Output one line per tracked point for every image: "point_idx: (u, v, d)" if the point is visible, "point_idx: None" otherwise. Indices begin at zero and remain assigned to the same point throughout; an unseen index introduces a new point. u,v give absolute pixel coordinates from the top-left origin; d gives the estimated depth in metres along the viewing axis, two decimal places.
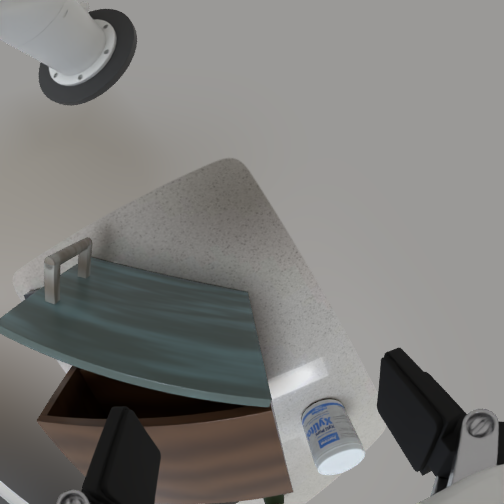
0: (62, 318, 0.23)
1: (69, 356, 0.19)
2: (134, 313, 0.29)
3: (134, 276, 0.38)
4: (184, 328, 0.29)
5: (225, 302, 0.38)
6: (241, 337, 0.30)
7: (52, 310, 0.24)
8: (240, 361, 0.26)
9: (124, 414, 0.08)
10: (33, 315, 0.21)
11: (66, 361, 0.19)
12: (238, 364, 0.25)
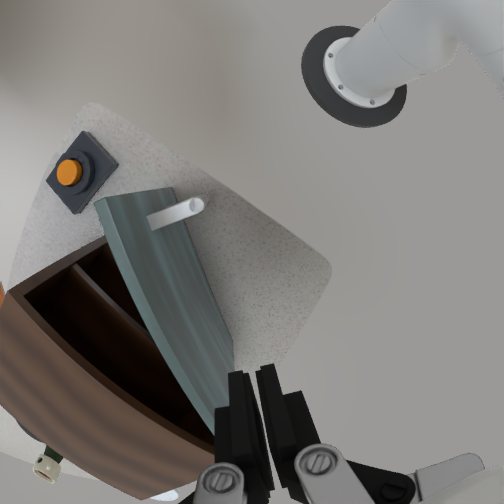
0: (155, 260, 0.22)
1: (158, 326, 0.19)
2: (191, 304, 0.29)
3: (191, 253, 0.38)
4: (211, 352, 0.30)
5: (225, 342, 0.40)
6: None
7: (149, 238, 0.23)
8: None
9: (244, 377, 0.09)
10: (136, 227, 0.20)
11: (148, 323, 0.18)
12: None
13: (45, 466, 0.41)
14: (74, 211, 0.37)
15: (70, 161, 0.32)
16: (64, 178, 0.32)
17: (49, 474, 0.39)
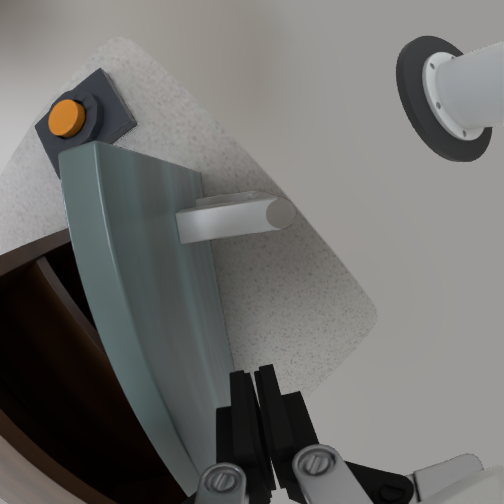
0: (184, 310, 0.11)
1: (193, 468, 0.07)
2: (216, 365, 0.17)
3: (212, 272, 0.27)
4: None
5: None
6: None
7: (177, 262, 0.11)
8: None
9: (246, 377, 0.09)
10: (160, 239, 0.09)
11: (169, 462, 0.07)
12: None
13: None
14: None
15: (71, 102, 0.20)
16: (58, 125, 0.20)
17: None
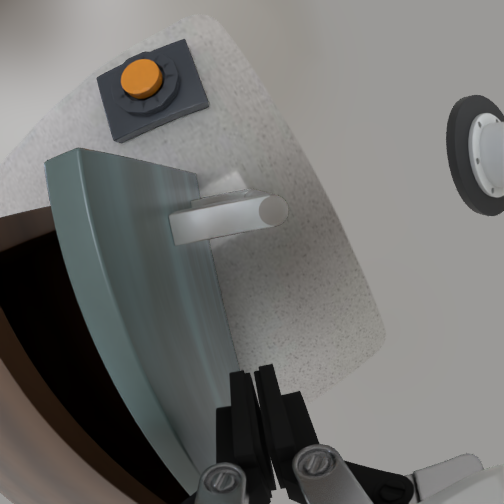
0: (180, 311, 0.11)
1: (194, 469, 0.07)
2: (218, 365, 0.17)
3: (212, 272, 0.27)
4: None
5: None
6: None
7: (172, 263, 0.11)
8: None
9: (245, 377, 0.09)
10: (152, 242, 0.09)
11: (170, 463, 0.07)
12: None
13: None
14: (116, 136, 0.24)
15: (153, 64, 0.20)
16: (132, 82, 0.20)
17: None
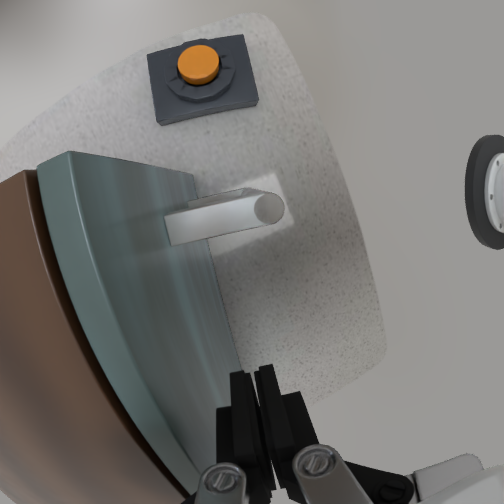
0: (178, 312, 0.11)
1: (194, 469, 0.07)
2: (219, 365, 0.17)
3: (211, 273, 0.27)
4: None
5: None
6: None
7: (168, 264, 0.11)
8: None
9: (246, 377, 0.09)
10: (146, 243, 0.09)
11: (170, 464, 0.07)
12: None
13: None
14: (160, 118, 0.24)
15: (214, 52, 0.20)
16: (190, 66, 0.20)
17: None
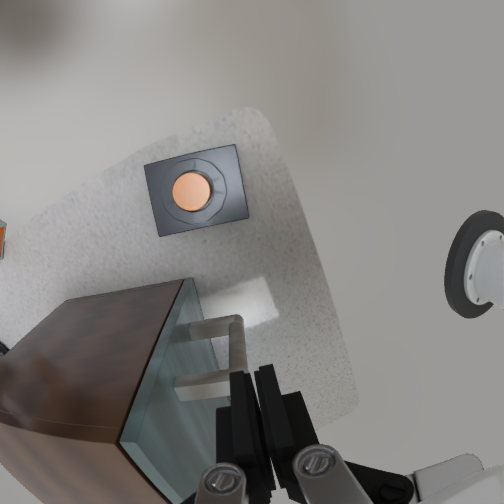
0: (186, 439, 0.17)
1: None
2: (213, 440, 0.23)
3: (209, 359, 0.32)
4: None
5: None
6: None
7: (179, 417, 0.17)
8: None
9: (245, 377, 0.09)
10: (168, 425, 0.14)
11: None
12: None
13: None
14: (162, 233, 0.30)
15: (205, 182, 0.26)
16: (183, 197, 0.26)
17: None
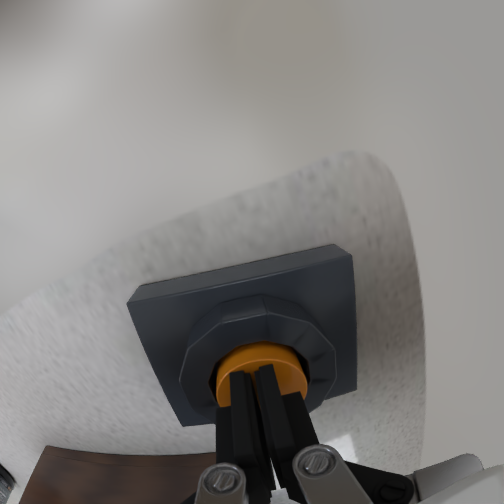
0: None
1: None
2: None
3: None
4: None
5: None
6: None
7: None
8: None
9: (245, 377, 0.09)
10: None
11: None
12: None
13: None
14: (188, 423, 0.13)
15: (299, 376, 0.10)
16: None
17: None
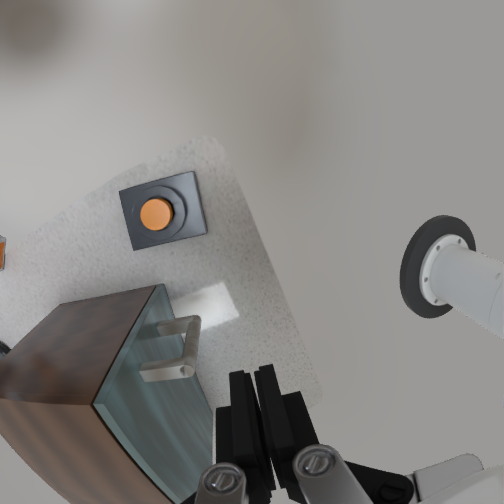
0: (149, 413, 0.22)
1: (155, 474, 0.18)
2: (178, 420, 0.28)
3: (179, 353, 0.37)
4: (194, 451, 0.29)
5: (206, 425, 0.39)
6: None
7: (143, 394, 0.22)
8: None
9: (245, 377, 0.09)
10: (132, 398, 0.20)
11: (146, 472, 0.18)
12: None
13: None
14: (135, 248, 0.35)
15: (166, 206, 0.31)
16: (149, 219, 0.31)
17: None
